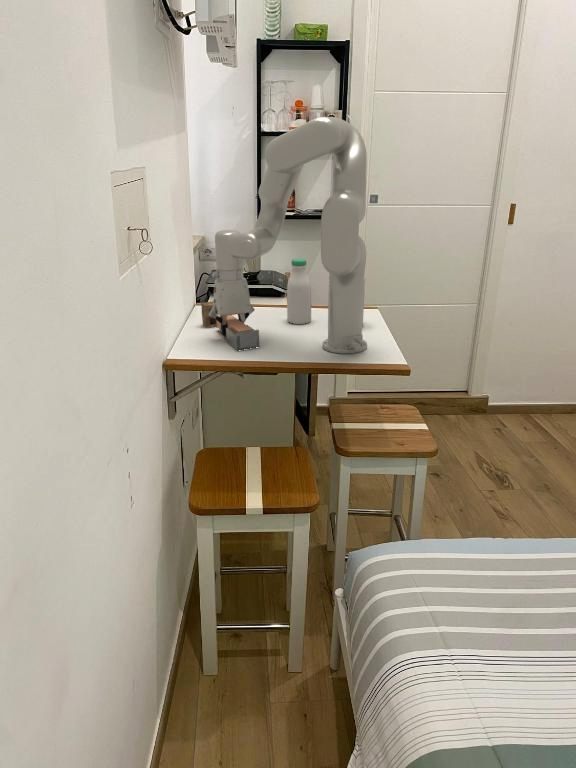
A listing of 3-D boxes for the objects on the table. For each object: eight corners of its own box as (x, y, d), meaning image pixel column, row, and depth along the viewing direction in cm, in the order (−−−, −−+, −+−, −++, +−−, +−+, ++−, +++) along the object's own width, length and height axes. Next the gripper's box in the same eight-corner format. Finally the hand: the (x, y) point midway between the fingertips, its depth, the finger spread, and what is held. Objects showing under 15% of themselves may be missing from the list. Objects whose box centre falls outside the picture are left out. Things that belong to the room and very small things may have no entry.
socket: (230, 324, 194) (229, 302, 191) (206, 328, 191) (205, 305, 188) (226, 321, 197) (225, 299, 195) (202, 324, 194) (201, 302, 191)
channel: (259, 347, 172) (259, 330, 170) (237, 351, 170) (236, 333, 168) (247, 339, 180) (247, 322, 178) (226, 342, 177) (225, 325, 175)
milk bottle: (311, 324, 193) (311, 261, 185) (287, 325, 193) (286, 261, 185) (311, 318, 200) (311, 257, 192) (287, 318, 200) (286, 257, 192)
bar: (253, 342, 173) (252, 329, 171) (239, 345, 171) (239, 331, 170) (228, 325, 190) (228, 312, 188) (216, 326, 188) (215, 314, 186)
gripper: (206, 280, 168) (210, 343, 175) (262, 274, 174) (263, 335, 181) (198, 275, 174) (202, 336, 181) (252, 269, 181) (254, 328, 188)
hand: (233, 335), depth 181 cm, fingers closed on bar, 4 cm apart
